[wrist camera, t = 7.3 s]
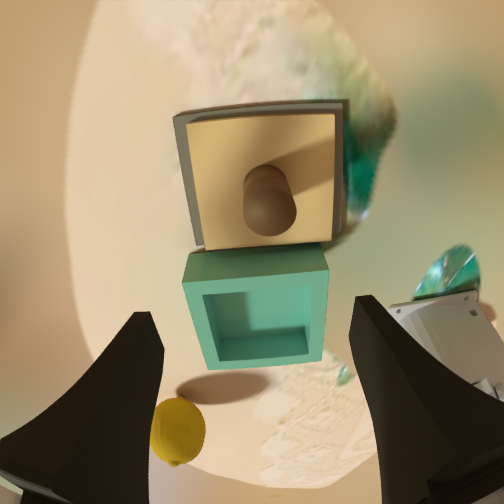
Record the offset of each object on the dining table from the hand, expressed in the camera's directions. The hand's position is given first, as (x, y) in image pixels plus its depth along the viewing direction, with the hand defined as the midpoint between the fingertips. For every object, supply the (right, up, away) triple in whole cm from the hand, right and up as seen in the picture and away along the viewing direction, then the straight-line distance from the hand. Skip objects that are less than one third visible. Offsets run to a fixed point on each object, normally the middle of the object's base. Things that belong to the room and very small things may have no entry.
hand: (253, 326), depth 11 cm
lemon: (-7, -12, +19) cm, 24 cm away
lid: (+1, +7, +7) cm, 9 cm away
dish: (0, -1, +12) cm, 12 cm away
